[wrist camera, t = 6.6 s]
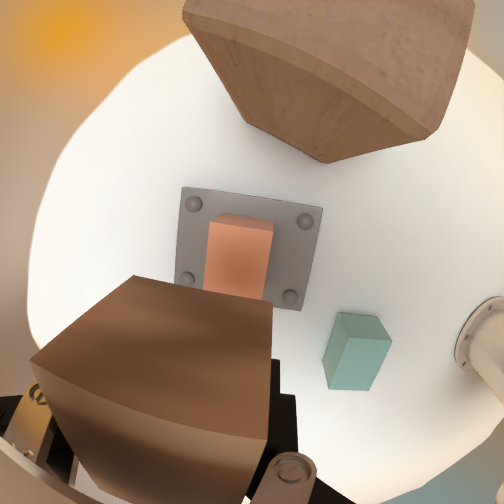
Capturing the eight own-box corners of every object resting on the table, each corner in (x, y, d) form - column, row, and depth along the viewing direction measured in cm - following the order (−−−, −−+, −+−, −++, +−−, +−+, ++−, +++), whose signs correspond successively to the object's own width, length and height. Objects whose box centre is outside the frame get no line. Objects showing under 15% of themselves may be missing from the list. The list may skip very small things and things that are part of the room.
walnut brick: (272, 301, 9) (267, 439, 4) (244, 428, 11) (229, 528, 6) (133, 275, 9) (29, 360, 4) (144, 404, 11) (99, 489, 6)
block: (285, 46, 22) (290, -98, 3) (369, 91, 23) (483, -2, 4) (239, 120, 25) (161, 11, 6) (327, 167, 26) (443, 149, 6)
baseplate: (321, 207, 27) (334, 216, 20) (300, 307, 30) (305, 338, 23) (185, 187, 27) (160, 190, 21) (176, 285, 30) (154, 310, 24)
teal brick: (376, 316, 29) (392, 340, 24) (358, 362, 31) (368, 390, 26) (338, 311, 30) (348, 337, 24) (322, 360, 31) (328, 389, 26)
